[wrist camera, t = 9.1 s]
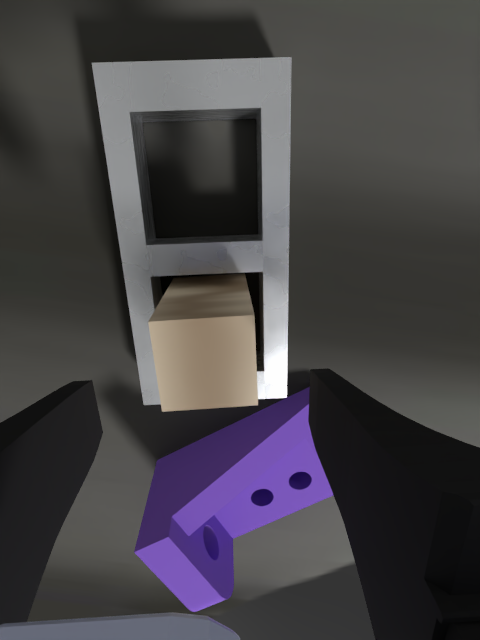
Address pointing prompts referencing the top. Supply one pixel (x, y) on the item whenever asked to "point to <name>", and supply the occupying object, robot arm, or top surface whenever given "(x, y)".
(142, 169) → the grey rectangular frame
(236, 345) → the peg
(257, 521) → the bracket
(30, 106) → the top surface
